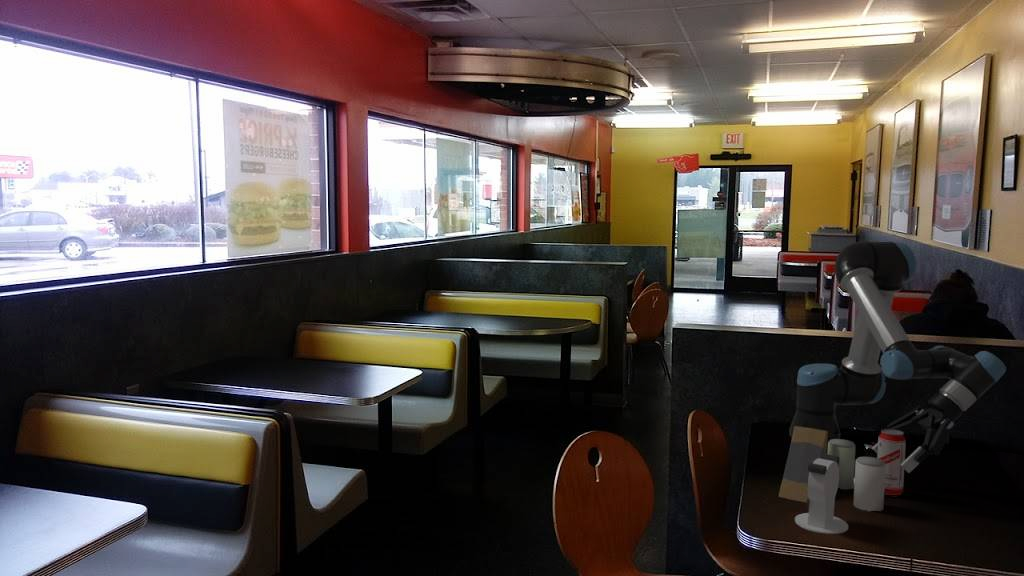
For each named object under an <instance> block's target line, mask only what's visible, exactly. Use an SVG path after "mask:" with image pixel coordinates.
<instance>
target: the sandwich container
mask: <svg viewBox="0 0 1024 576" xmlns="http://www.w3.org/2000/svg"><path fill="white" fill-rule="evenodd" d="M827 438H828V432H827V431H823V430H818V429H812V428H806V427H799V426H795V427H794V430H793V436H792V437H791V442H790V445H789V451H788V455H787V458H786V463H785V467H784V472H783V476H782V481H781V483H780V489H779V492H778V497H779V498H782V499H787V500H792V501H796V502H797V501H798V502H803V503H807V499H809V497H808V492H807V478H808V474H809V471H808V465H809V463H813V462H814V461H815V460H816V459H818V458H820V459H821V457H822V454H828V444H827Z"/></svg>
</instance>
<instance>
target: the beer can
mask: <svg viewBox="0 0 1024 576" xmlns="http://www.w3.org/2000/svg"><path fill="white" fill-rule="evenodd" d="M880 431H881V432H880V434H879V435H878V440H877V443H878V454H876V455H877V457H876V458H878V459H881V460H883V461H884V463H885V464H886V469H885V487H884V494H886V495H899V496H900V495H902V494H903V492H904V481H905V480H904V477H905V469H904V468H903V467H902V466H901V464H902V463H903V462H904V461H905V460H906V443H907V441H906V438H905V436H904V435H905V434H904V433H903V432H902V431H898V430H893V429H889V428H883V429H881V430H880ZM886 495H885V496H886Z"/></svg>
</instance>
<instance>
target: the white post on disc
mask: <svg viewBox="0 0 1024 576" xmlns="http://www.w3.org/2000/svg"><path fill="white" fill-rule="evenodd" d="M838 466H839V457H838V456H833V455H828V453H826V454H822V457H821V459H820V458H818V459H816V460H815V461H814V462H813V463H809V465H808V471H809V474H808V478H807V492H808V497H809V499H807V502H806V508H807V509H808V512H805V513H800V514H797V515H796V516H795V517H794V522H795V524H796V525H798V526H799V527H801V528H802V529H804V530H807V531H810V532H813V533H820V534H826V535H835V534H836V535H838V534H839V535H840V534H843V533H846V532H847V531H849V524H848V523H847V522H846V521H845V520H843V519H841V518H839V517H837V516H834V514H835V504H836V503H835V499H836V495H837V492H838V490H839V489H838V484H839V468H838Z"/></svg>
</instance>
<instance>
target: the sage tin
mask: <svg viewBox="0 0 1024 576" xmlns="http://www.w3.org/2000/svg"><path fill="white" fill-rule="evenodd" d="M827 454H828V455H833V456H838V457H839V466H838V468H839V484H838V488H840V489H839V490H850V489H849V488H852V487H853V488H854V484H855V464H856V444H855V443H854V442H853V441H852V440H848V439H844V438H843V439H842V438H840V439H831V440H830V441H829V442H828V444H827ZM853 488H852V489H853Z"/></svg>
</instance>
